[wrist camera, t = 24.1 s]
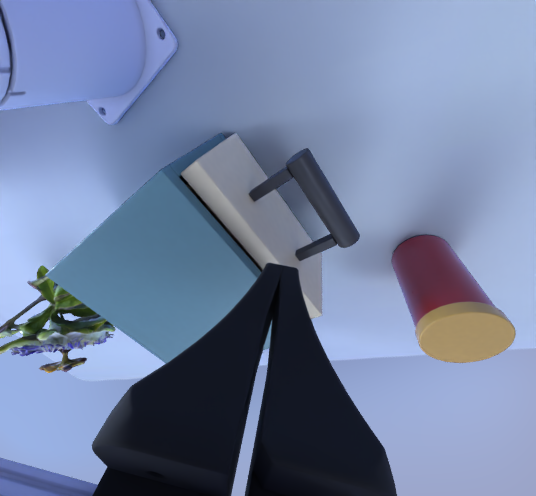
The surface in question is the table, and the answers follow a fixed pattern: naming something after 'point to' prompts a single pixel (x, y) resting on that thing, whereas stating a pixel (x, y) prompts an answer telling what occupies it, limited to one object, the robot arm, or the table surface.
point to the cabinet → (160, 265)
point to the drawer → (271, 211)
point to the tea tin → (448, 303)
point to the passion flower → (56, 326)
